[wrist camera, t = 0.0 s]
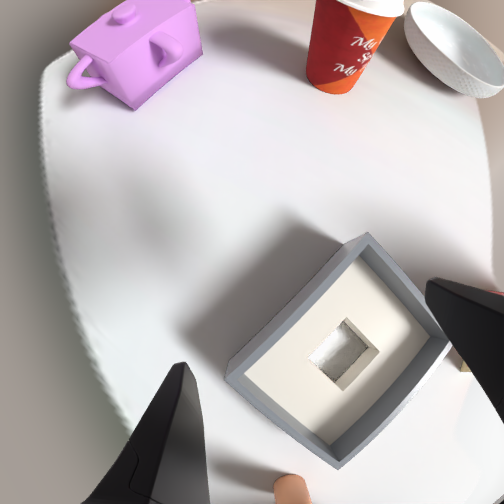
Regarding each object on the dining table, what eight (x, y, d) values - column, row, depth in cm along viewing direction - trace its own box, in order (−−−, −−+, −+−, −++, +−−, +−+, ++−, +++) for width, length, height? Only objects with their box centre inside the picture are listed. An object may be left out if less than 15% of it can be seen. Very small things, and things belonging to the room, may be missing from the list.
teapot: (174, 16, 29) (161, -38, 19) (252, 49, 28) (254, -18, 18) (71, 100, 27) (32, 52, 17) (134, 151, 26) (90, 93, 16)
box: (422, 332, 24) (456, 339, 18) (322, 440, 22) (337, 470, 17) (343, 244, 25) (367, 231, 19) (229, 360, 23) (223, 379, 18)
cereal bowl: (416, 20, 30) (431, -6, 23) (490, 86, 29) (512, 65, 22) (373, 47, 28) (390, 11, 21) (468, 132, 27) (499, 107, 20)
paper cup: (346, 114, 27) (397, 16, 13) (283, 78, 27) (300, -27, 13) (371, 76, 27) (416, -8, 14) (315, 45, 28) (339, -44, 14)
